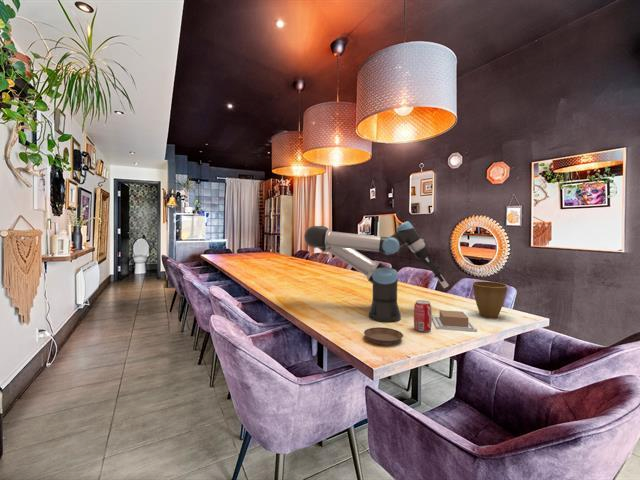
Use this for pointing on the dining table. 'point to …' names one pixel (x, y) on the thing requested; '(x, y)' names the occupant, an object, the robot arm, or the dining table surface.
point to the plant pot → (489, 297)
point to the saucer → (383, 335)
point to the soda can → (422, 316)
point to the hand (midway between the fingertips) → (444, 284)
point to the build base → (453, 321)
